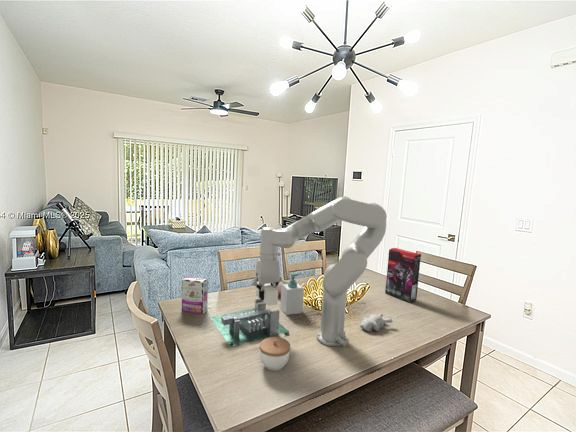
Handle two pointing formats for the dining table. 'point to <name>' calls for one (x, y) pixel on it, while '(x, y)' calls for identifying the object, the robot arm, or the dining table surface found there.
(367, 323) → the bunny figurine
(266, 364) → the lidded jar
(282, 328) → the green base metal fixture
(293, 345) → the dining table surface
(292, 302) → the soap bottle
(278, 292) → the decorative fruit
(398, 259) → the graphics card box
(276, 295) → the plain white rectangular block
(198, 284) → the candy bar box
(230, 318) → the grey capped bar
